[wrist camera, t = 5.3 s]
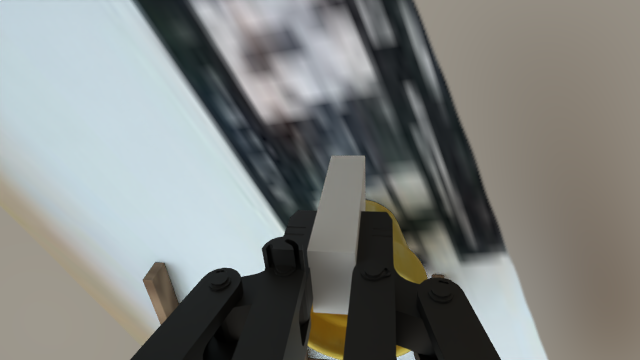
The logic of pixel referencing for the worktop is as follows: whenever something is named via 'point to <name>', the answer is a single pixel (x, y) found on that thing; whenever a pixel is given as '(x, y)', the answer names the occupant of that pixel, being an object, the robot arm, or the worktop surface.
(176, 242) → the worktop surface
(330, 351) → the plant pot
